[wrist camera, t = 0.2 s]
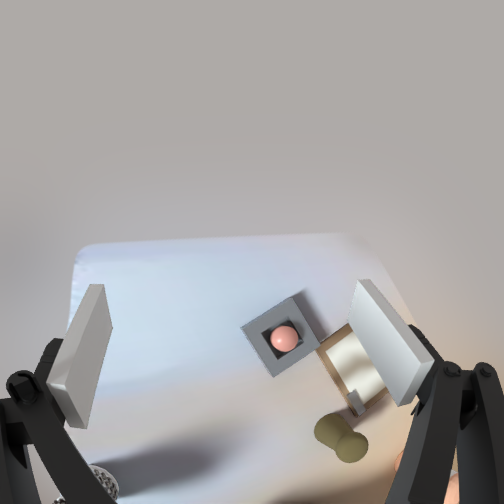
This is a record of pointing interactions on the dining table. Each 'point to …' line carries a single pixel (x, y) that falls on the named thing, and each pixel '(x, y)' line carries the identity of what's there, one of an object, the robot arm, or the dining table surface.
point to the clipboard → (351, 370)
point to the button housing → (263, 327)
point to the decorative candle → (105, 480)
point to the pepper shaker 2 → (453, 484)
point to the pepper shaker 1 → (341, 438)
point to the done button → (284, 338)
